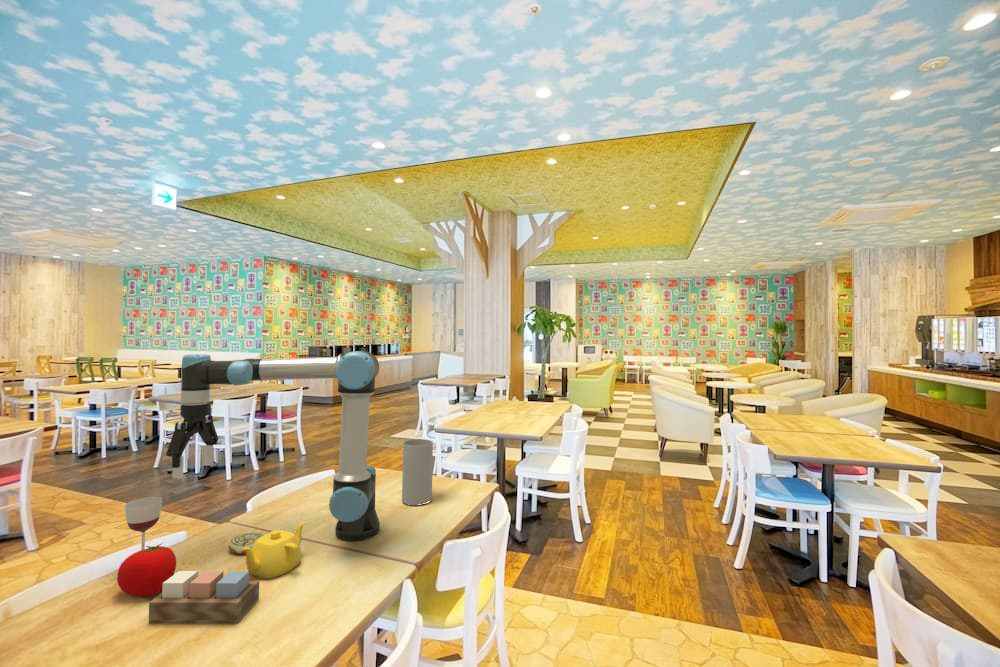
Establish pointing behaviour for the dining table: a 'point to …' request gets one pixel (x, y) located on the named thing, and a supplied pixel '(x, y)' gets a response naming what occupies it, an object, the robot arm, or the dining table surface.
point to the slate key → (232, 585)
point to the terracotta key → (205, 585)
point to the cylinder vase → (417, 471)
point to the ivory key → (178, 585)
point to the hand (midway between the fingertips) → (193, 471)
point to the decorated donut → (243, 542)
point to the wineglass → (143, 514)
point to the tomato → (146, 571)
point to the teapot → (274, 553)
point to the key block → (203, 608)
